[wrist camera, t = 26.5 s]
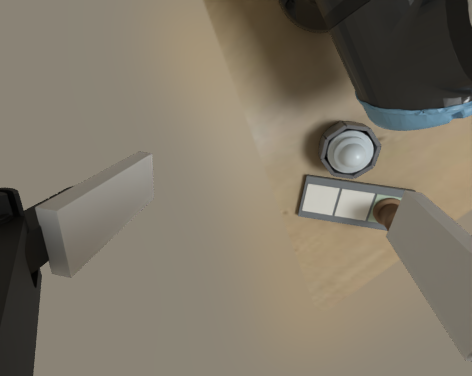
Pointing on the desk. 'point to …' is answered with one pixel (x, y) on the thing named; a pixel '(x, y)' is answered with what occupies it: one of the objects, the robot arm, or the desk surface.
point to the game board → (344, 200)
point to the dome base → (338, 129)
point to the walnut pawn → (386, 211)
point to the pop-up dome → (349, 151)
